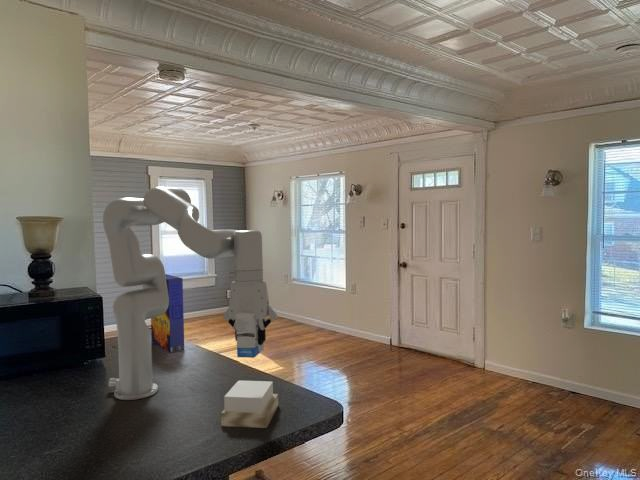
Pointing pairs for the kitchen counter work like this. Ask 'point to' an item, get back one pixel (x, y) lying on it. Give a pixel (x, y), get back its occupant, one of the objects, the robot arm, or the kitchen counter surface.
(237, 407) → the upper block
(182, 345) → the cereal box
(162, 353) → the kitchen counter surface
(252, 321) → the ink box
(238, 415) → the lower block
